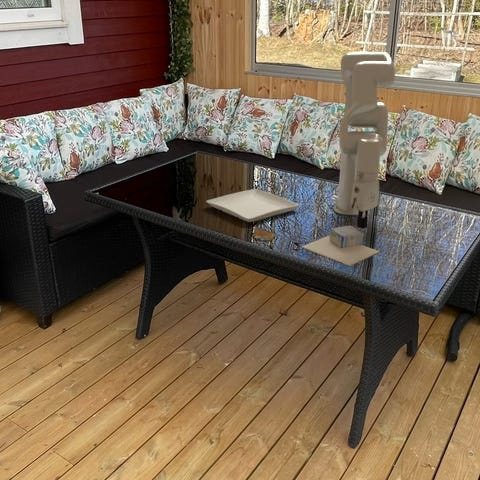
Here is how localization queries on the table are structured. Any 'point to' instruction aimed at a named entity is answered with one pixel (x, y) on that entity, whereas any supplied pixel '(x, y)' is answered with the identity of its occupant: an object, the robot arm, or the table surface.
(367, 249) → the mat
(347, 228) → the medicine box
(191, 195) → the table surface
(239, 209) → the square plate
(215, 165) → the table surface
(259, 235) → the shard
